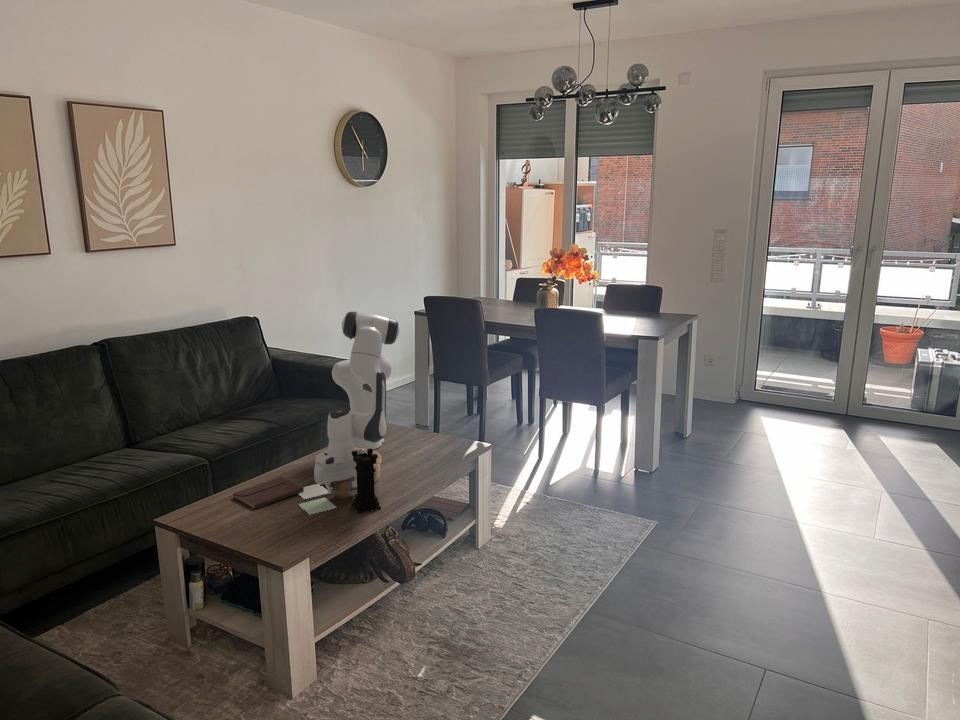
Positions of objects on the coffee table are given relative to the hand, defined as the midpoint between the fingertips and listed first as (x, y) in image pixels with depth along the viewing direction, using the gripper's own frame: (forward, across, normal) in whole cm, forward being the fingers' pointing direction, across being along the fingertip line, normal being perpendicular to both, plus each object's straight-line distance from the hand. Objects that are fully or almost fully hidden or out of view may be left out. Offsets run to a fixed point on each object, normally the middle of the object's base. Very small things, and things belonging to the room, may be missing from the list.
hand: (342, 489), depth 256 cm
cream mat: (+2, +8, -10) cm, 13 cm away
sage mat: (+3, +11, +3) cm, 12 cm away
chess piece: (+3, -3, +13) cm, 13 cm away
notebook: (+2, +21, -17) cm, 27 cm away
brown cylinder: (+3, 0, 0) cm, 3 cm away
